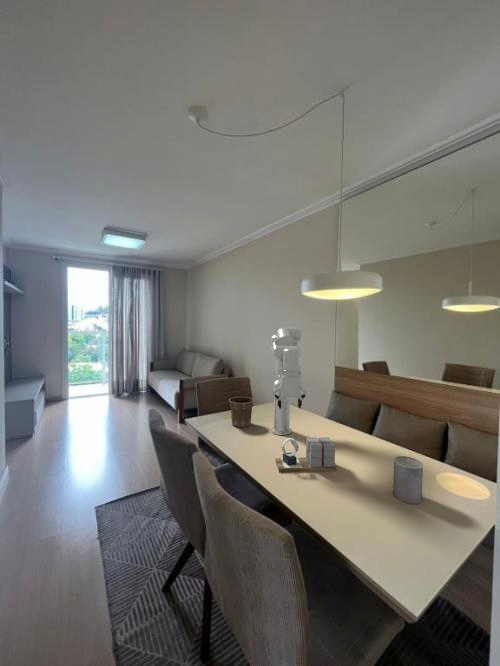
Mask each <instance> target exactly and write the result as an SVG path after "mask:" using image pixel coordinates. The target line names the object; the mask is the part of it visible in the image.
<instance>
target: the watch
mask: <svg viewBox="0 0 500 666" xmlns="http://www.w3.org/2000/svg"><path fill="white" fill-rule="evenodd" d="M289 441H290V443H291V445H292V446H293V448H294V449H293V451H292V452H286V449H285V445H286V443H288V442H289ZM280 448H281V451H282V452H283V453H282V458H283V461H284V462H285V463H286V464H287V465H288V466H290V465H296V464H297V458H298V457H296V455H297V453H298V452H299V449H300V447H299V444H298V442H297V441H296V440H295V438H293V437H292V438H291V437H287V438H285V439H284V440H283V441H282V442H281V447H280Z"/></svg>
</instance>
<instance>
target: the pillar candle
mask: <svg viewBox="0 0 500 666" xmlns="http://www.w3.org/2000/svg"><path fill="white" fill-rule="evenodd" d="M393 463H394V464H393V483H392V485H393V487H392V488H393V489H392V490H393V491H392V493H393V494H392V495H393V496H394V497H395V498H396V499H397V500H399V501H401V502H403V503H405V504H409V505H416V504H421V503H422V500H423V476H424V474H423V472H424V471H423V470H424V468H423V467H424V465H423V462H421V461H420V460H418V459H417V458H415V457H411V456H407V455H398V456H395V457H394V461H393Z"/></svg>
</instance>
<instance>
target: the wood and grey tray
mask: <svg viewBox="0 0 500 666" xmlns="http://www.w3.org/2000/svg"><path fill="white" fill-rule="evenodd" d="M305 440H306V441H305V443H306V444H305V457H297V464H296V465H290V466H288V465H287V464H286V463H285V462H284V461H283V457H275V458H274V459H275V460H274V461H275V465H276V467H277V469H278V473H292V472H293V473H294V472H295V473H296V472H297V473H299V472H337V466H336V465H335V464H336V463H335V462H336V461H335V460H336V443H334V441H333V440H332V439H330V437H306V438H305Z"/></svg>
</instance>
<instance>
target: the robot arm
mask: <svg viewBox="0 0 500 666" xmlns="http://www.w3.org/2000/svg"><path fill="white" fill-rule="evenodd" d="M302 336H303V335H302V331H301V330H300V328H298V327H282V328H278V330H277V332H276V334H274V335H272V336H271V338H270V347H271V355H272V359H273V360H274V370H275V371H274V373H275V376H276V377H277V378H278V379H277V380H275V381H274V382H273V384H272V388H273V390H272V391H271V392H272V394H273V401H274V403H273V405H274V406H273V427H271V429H270V431H271V433H272V434H275V435H279V436H288V435H291V434H292V433H293V429H292V428H291V427H290V426H291V425H290V424H291V423H290V420H291V419H290V418H291V415H290V413H291V403H290V400H289V399H288V398H295V397H296V398H297V407H298V409H301V408H302V405H303V404H302V403H303V399H305V398H306V396H307V395H308V390H307V389H305V388H303V380H302V379H303V375H302V368H301V366H300V364H299V361H300V358H301V349H299V345H300V342H301V341H302ZM279 378H280V379H279Z"/></svg>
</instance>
